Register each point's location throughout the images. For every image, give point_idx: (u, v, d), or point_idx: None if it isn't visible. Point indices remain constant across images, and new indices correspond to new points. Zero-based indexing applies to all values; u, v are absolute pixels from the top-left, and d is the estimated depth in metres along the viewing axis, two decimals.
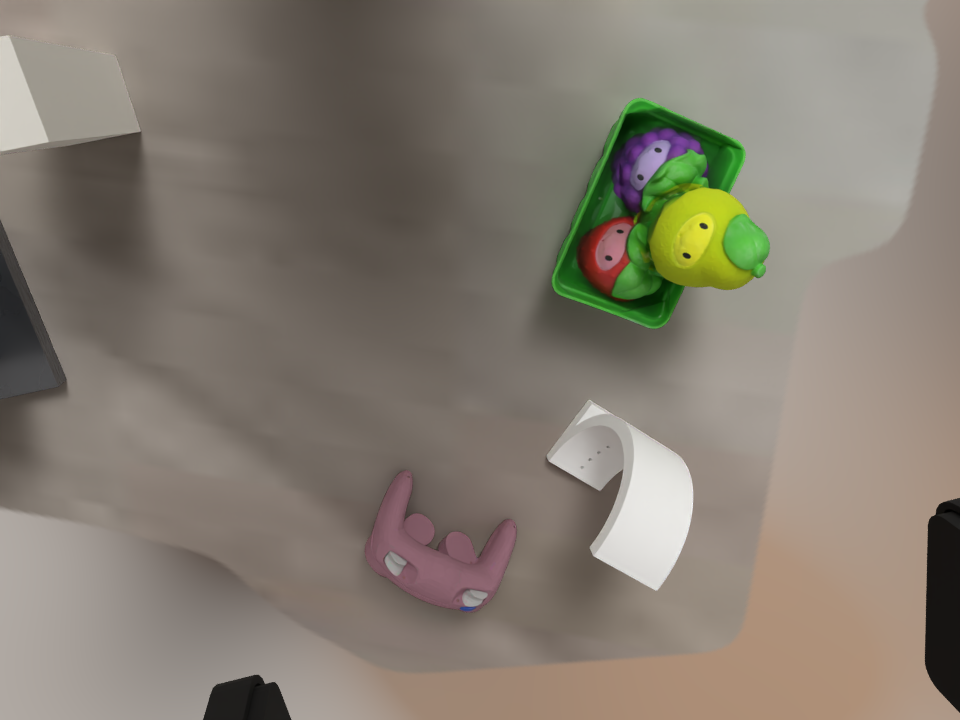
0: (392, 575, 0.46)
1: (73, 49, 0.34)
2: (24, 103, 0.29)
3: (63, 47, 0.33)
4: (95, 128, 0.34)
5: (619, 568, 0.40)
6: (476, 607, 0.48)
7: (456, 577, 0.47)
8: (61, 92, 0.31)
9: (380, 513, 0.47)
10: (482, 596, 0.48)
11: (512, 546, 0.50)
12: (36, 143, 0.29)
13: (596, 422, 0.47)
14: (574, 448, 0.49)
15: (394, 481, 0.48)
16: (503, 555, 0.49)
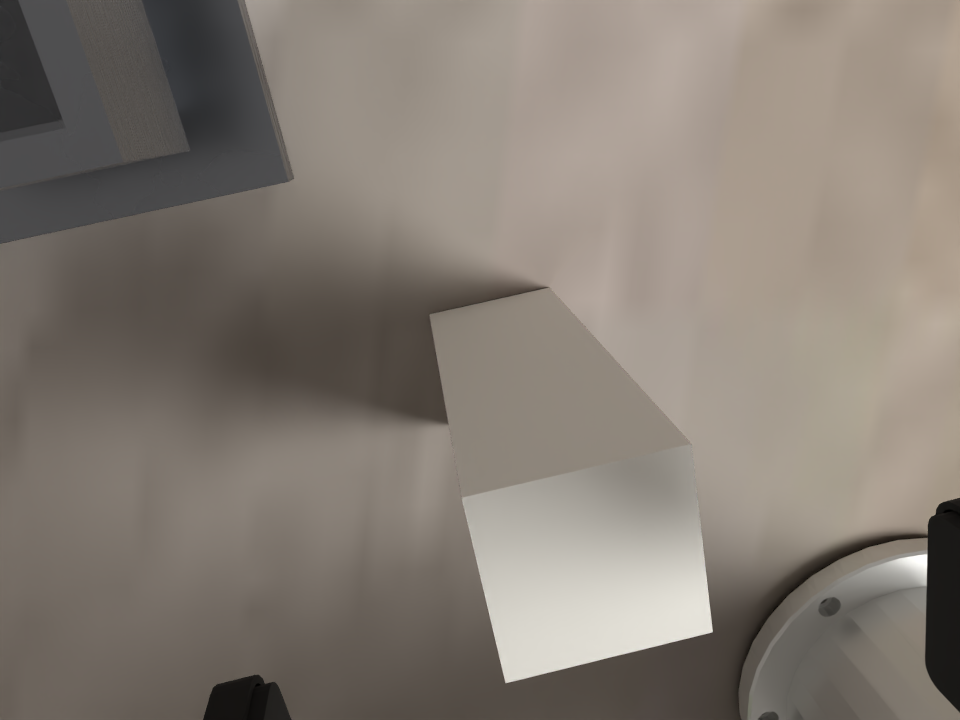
0: None
1: None
2: (582, 647, 0.13)
3: None
4: None
5: None
6: None
7: None
8: None
9: None
10: None
11: None
12: (502, 660, 0.13)
13: None
14: None
15: None
16: None
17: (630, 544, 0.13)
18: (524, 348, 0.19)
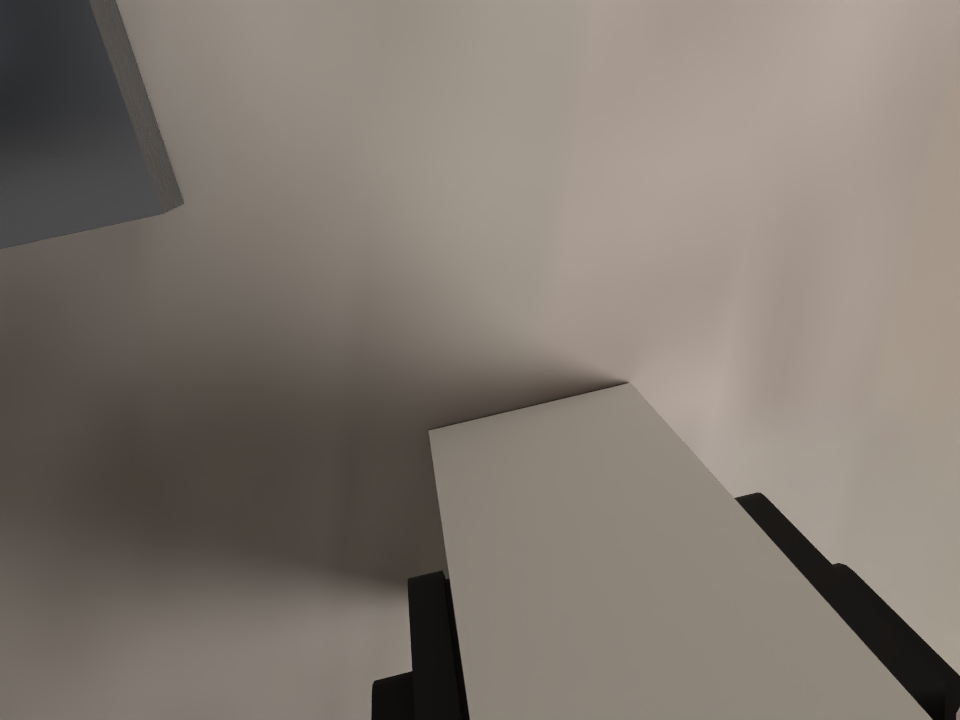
0: None
1: None
2: None
3: None
4: None
5: None
6: None
7: None
8: None
9: None
10: None
11: None
12: None
13: None
14: None
15: None
16: None
17: None
18: (631, 570, 0.09)
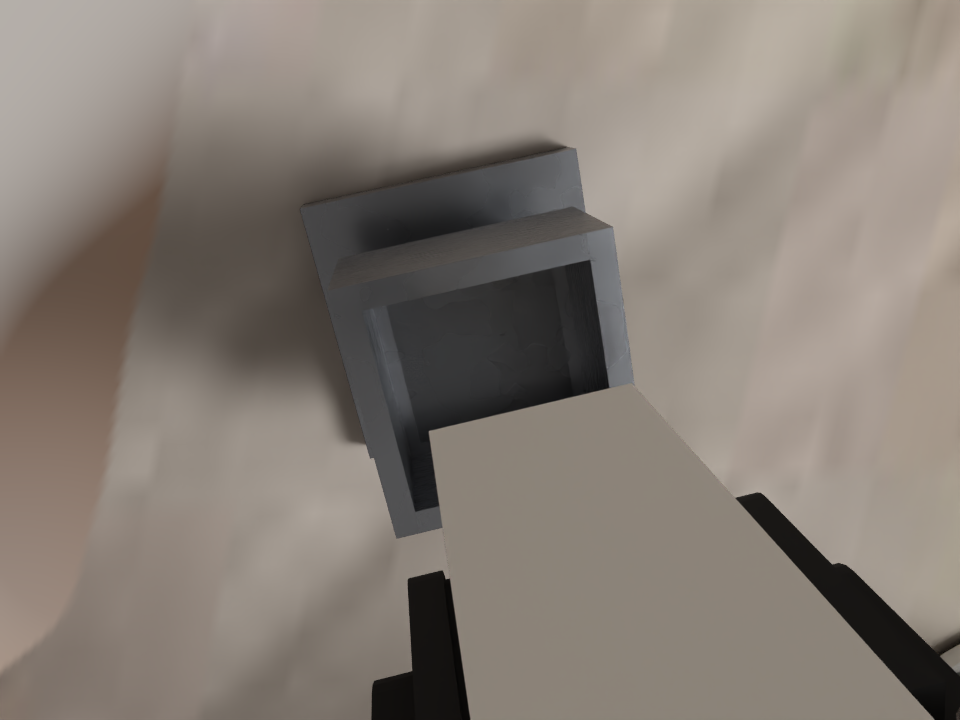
0: None
1: None
2: None
3: None
4: None
5: None
6: None
7: None
8: None
9: None
10: None
11: None
12: None
13: None
14: None
15: None
16: None
17: None
18: (633, 571, 0.09)
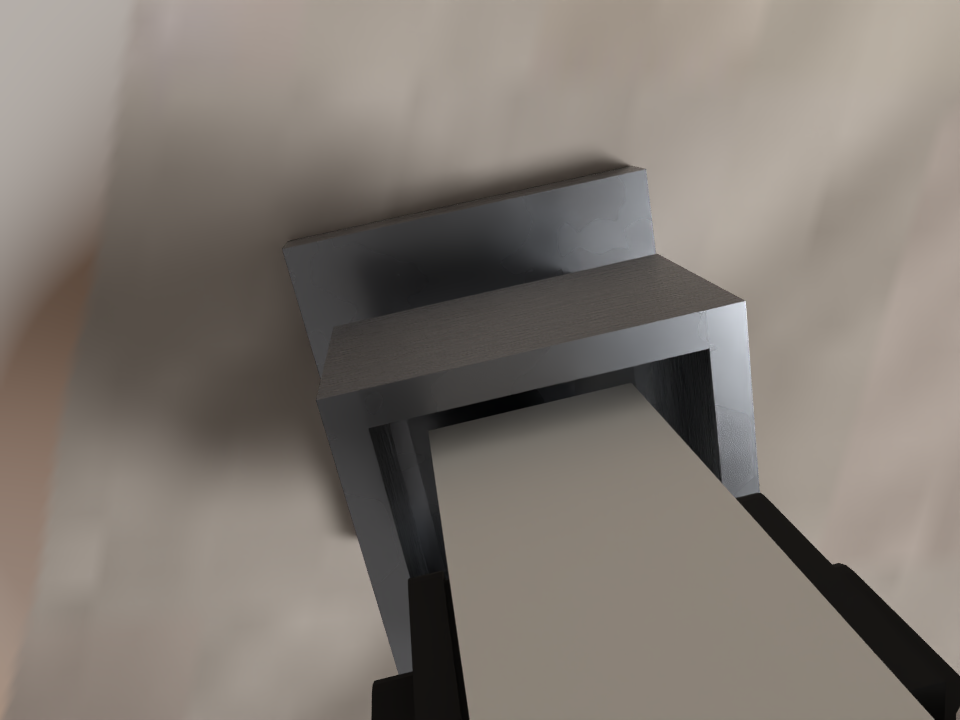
0: None
1: None
2: None
3: None
4: None
5: None
6: None
7: None
8: None
9: None
10: None
11: None
12: None
13: None
14: None
15: None
16: None
17: None
18: (633, 572, 0.09)
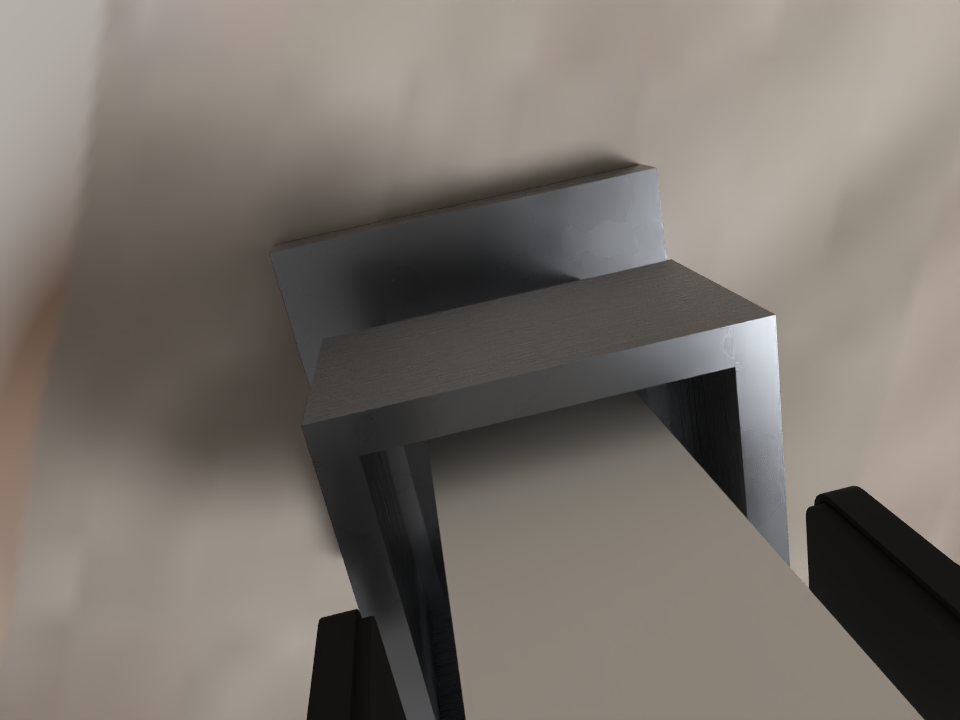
0: None
1: None
2: None
3: None
4: None
5: None
6: None
7: None
8: None
9: None
10: None
11: None
12: None
13: None
14: None
15: None
16: None
17: None
18: (606, 531, 0.10)
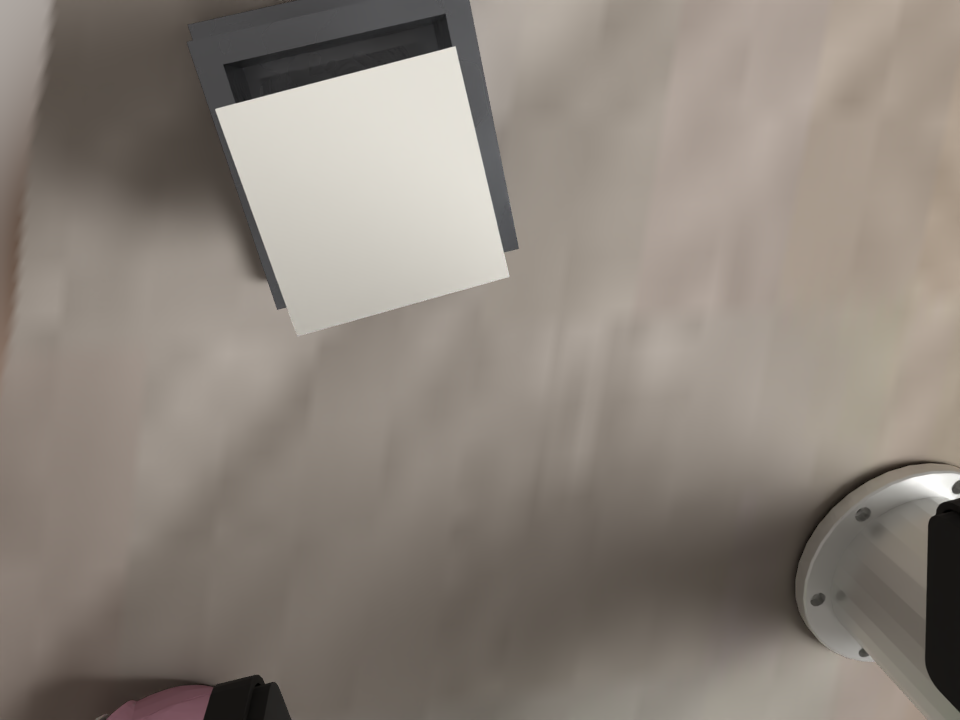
0: None
1: None
2: (373, 294, 0.13)
3: None
4: None
5: None
6: None
7: None
8: None
9: (172, 712, 0.34)
10: None
11: None
12: (289, 309, 0.13)
13: None
14: None
15: None
16: None
17: (406, 168, 0.12)
18: None
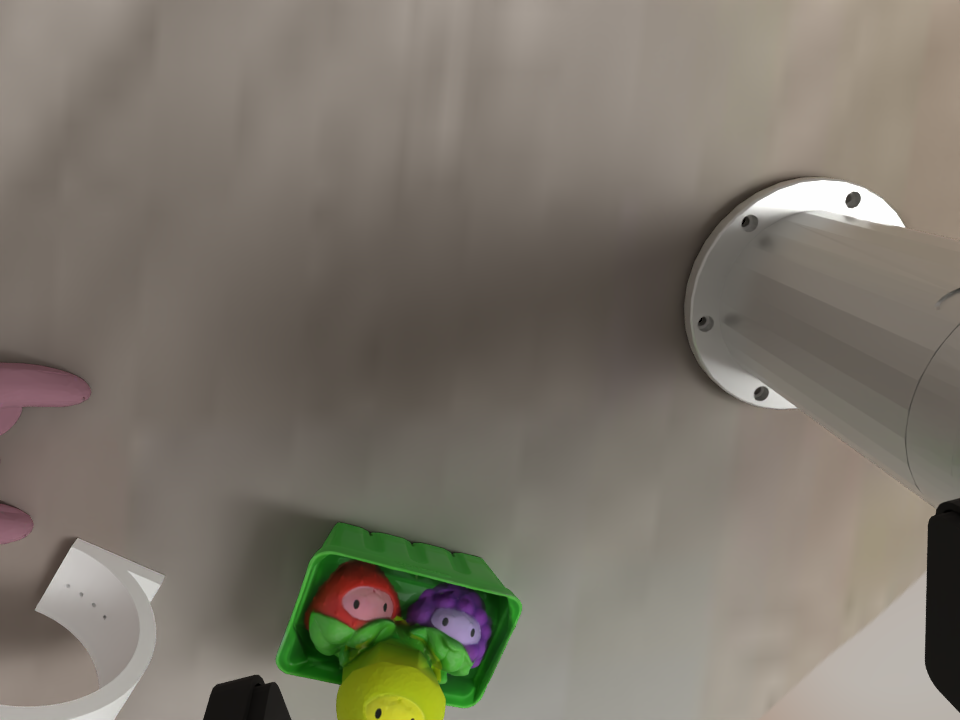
0: None
1: None
2: None
3: None
4: None
5: None
6: None
7: None
8: None
9: (20, 373, 0.33)
10: None
11: None
12: None
13: (140, 606, 0.38)
14: (95, 575, 0.39)
15: (72, 380, 0.35)
16: None
17: None
18: None
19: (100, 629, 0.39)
